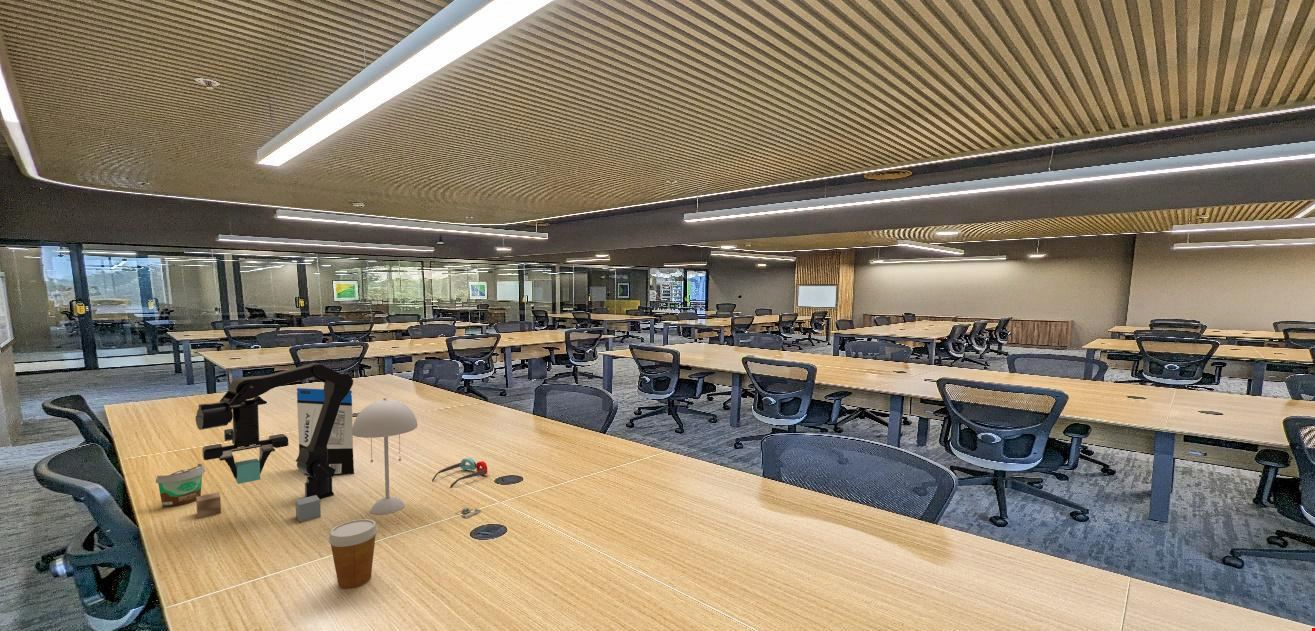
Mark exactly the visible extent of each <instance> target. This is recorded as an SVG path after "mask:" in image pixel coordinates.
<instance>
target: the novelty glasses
mask: <svg viewBox="0 0 1315 631" xmlns="http://www.w3.org/2000/svg"><path fill="white" fill-rule="evenodd" d="M466 463H468V464H466ZM457 468H459V469H461V470H462V471H463V472H465V471H467V470H469V471H474V470H476V471H475V472H472V473H469V474H467V475H463V476H461V477H459V478H458V479H456V480H455V481H454V482H453V483H451V484H450V486H449V488H454V487H455V485H456V484H457V483H458V482H460V481H461V480H465V479H471V478H473V477H477V476H480V475H483V476H484V475H487V474H488V466H487V463H486V462H485V461H484V460H481V461H478V462H476V461H475V460H474V459H473V458H471V457H466V458H463V459H461V460H460V462H458V463H456V464H453V465H450V466H446V467H445V468H443V469H440V470H438V472H437V473H436V474H435V475H434V476H433V478H432V480H431V482H432V483H433V482H434V481H435V480H436V478H437V475H439V474H441V473H444V472H447V471H451V470H454V469H457Z"/></svg>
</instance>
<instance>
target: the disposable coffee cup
mask: <svg viewBox="0 0 1315 631" xmlns="http://www.w3.org/2000/svg"><path fill="white" fill-rule="evenodd" d="M378 530H379V527H378V525H377V523H376V521H375V520H373V519H370V518H369V519H367V518H363V519H354V520H349V521H345V522H343V523H340V524H338V525H336V526H335V527H333V528H332V529H331V530H330V532H329V535H328V537H327V541H328V542H329V545H330V547H331V554H332V558H333V563H334V564H333V565H334V570H335V573H336V574H335V575H336V580H337V585H338V588H341V589H352V588H353V589H354V588H358V587H360V586H362V585H364V584H366V583H367V582H369V581H370V580H371V578H372V572H373V561H374V555H375V552H374V551H375V544H376V536H377V533H378Z"/></svg>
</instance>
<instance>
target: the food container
mask: <svg viewBox="0 0 1315 631" xmlns="http://www.w3.org/2000/svg"><path fill="white" fill-rule="evenodd" d="M205 472H206V469H205V466H204V465H203V464H202V463H197V466H195V467H191V468H188V469H181V470H178V471H175V472H173V473H171V474H167V475H157V476H156V478H155V484H158V488H159V489H158V490H159V494H160V495H159V496H160V501H161V502H160V503H161V507H162V508H174V507H180V506H184V505H189V504H191V503H195V502H196V497H198V496H202V483H203V474H205Z"/></svg>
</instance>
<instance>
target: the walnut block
mask: <svg viewBox="0 0 1315 631" xmlns="http://www.w3.org/2000/svg"><path fill="white" fill-rule="evenodd" d="M195 502H196V503H195V504H196V515H197V516H196V517H197V519H203V518H207V517H210V516H215V515H218V514H220V515H221V514H222V508H221V507H222V505H221V502H222V500H221V494H220V492H219V491H216V492H213V493H207V494H203V495H202V494H201V496H198V497H196V501H195Z"/></svg>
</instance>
